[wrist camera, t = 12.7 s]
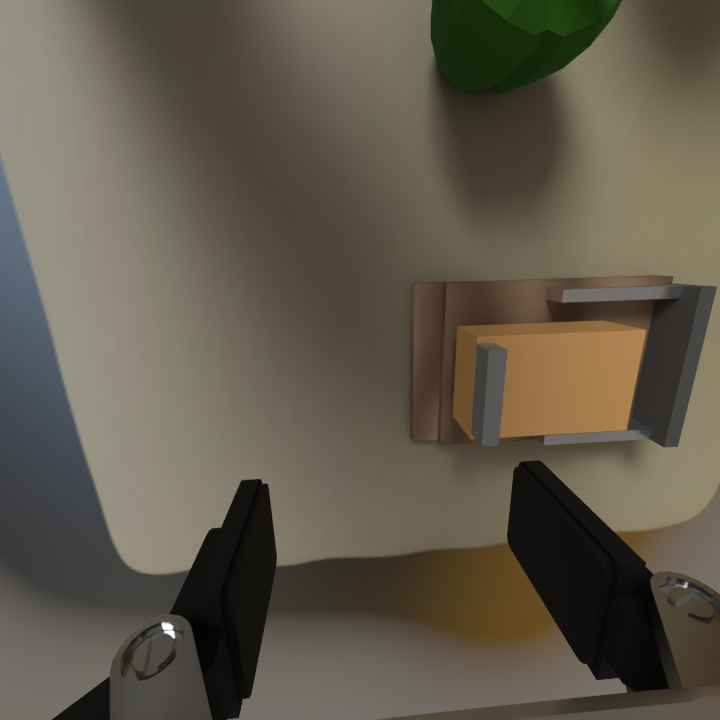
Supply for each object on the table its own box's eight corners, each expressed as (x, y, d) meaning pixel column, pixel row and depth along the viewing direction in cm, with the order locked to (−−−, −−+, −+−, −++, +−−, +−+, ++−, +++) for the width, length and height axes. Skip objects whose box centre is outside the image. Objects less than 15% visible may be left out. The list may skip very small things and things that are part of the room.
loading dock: (410, 436, 28) (424, 468, 24) (412, 283, 25) (428, 287, 20) (625, 424, 29) (676, 452, 25) (654, 275, 26) (718, 278, 21)
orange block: (447, 408, 26) (481, 452, 20) (451, 323, 24) (489, 343, 18) (577, 402, 26) (648, 442, 20) (590, 317, 25) (672, 335, 19)
